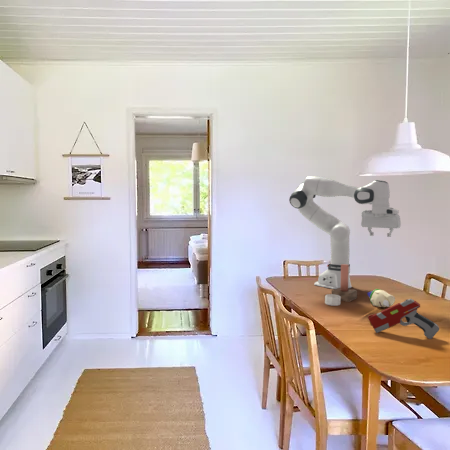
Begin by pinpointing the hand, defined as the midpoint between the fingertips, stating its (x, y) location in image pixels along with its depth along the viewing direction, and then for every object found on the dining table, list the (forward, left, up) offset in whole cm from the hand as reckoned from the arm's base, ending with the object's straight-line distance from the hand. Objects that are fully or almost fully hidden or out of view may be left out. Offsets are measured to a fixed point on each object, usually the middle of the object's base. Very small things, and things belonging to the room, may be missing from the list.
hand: (380, 236), depth 224 cm
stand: (-14, -14, -34) cm, 39 cm away
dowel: (-14, -14, -29) cm, 35 cm away
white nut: (-14, -28, -34) cm, 46 cm away
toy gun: (+28, -53, -35) cm, 69 cm away
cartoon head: (+5, -15, -35) cm, 38 cm away
